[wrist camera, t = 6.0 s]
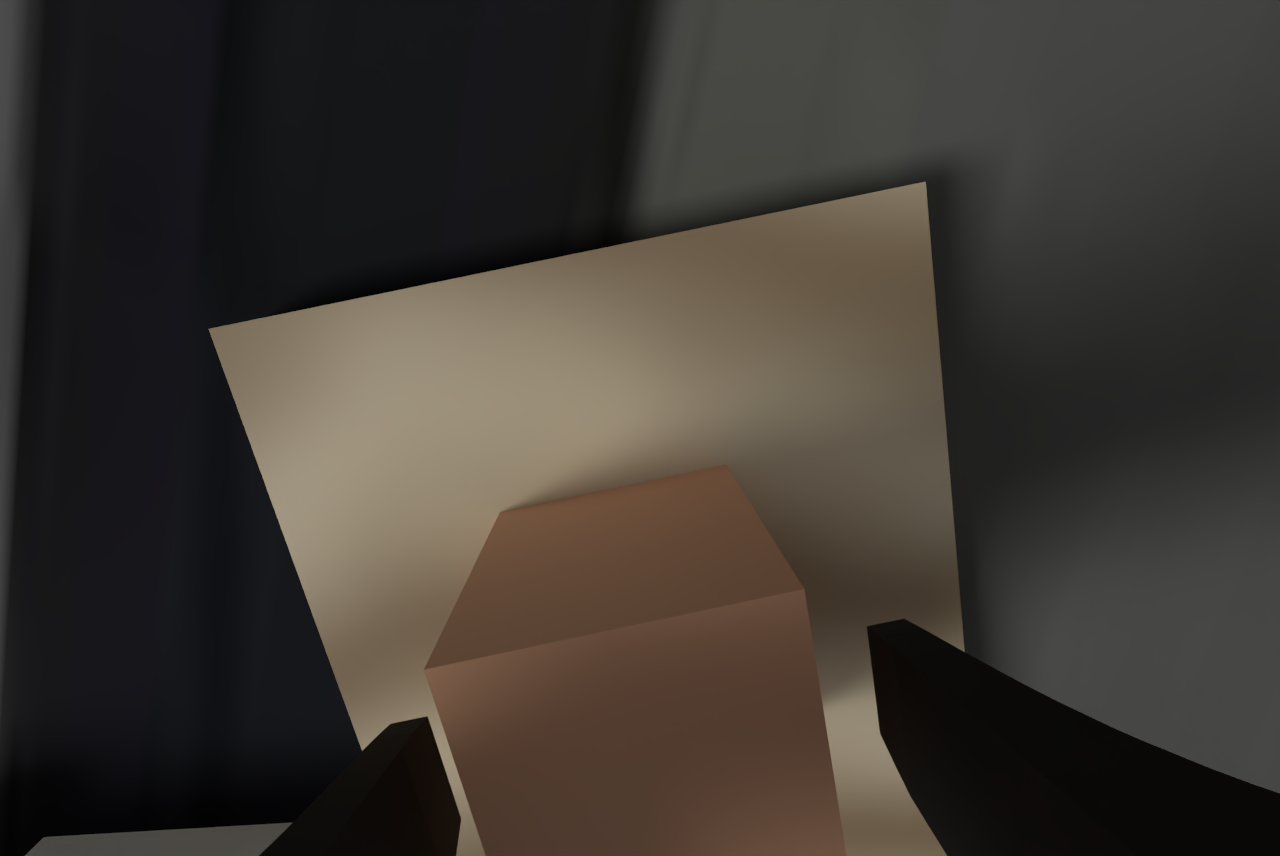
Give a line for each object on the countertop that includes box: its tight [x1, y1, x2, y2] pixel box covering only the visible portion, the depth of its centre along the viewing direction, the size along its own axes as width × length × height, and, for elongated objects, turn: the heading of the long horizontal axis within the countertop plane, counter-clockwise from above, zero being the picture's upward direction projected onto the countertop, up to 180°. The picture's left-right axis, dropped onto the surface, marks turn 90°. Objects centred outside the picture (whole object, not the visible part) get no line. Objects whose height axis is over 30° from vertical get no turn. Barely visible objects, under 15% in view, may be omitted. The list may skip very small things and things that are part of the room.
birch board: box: [209, 182, 965, 856], centre depth 13 cm, size 15×13×2 cm
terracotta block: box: [424, 464, 846, 856], centre depth 10 cm, size 6×4×5 cm
